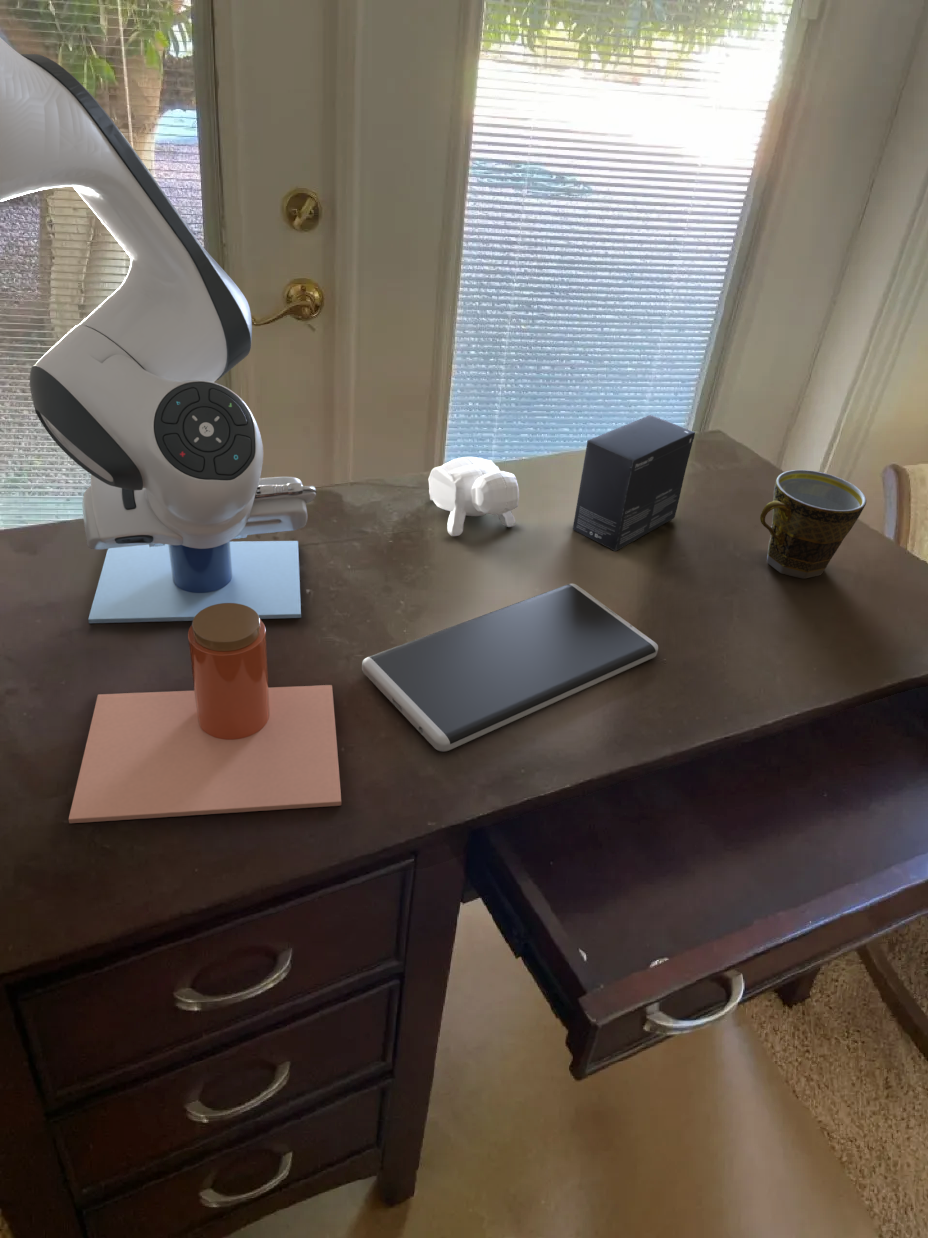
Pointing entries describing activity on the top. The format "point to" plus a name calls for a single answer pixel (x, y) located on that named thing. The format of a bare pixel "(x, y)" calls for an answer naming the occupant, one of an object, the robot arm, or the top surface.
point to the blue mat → (148, 594)
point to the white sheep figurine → (473, 491)
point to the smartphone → (506, 664)
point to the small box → (632, 480)
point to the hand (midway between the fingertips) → (197, 534)
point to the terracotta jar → (229, 670)
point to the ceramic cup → (809, 520)
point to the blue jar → (200, 567)
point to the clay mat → (205, 758)
